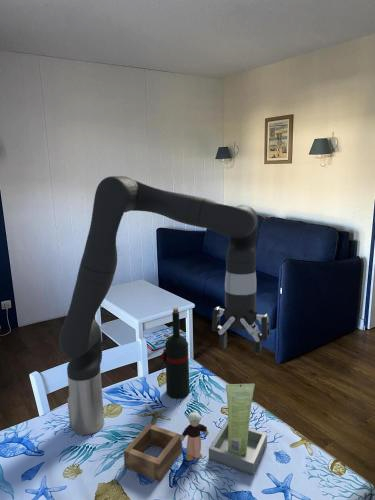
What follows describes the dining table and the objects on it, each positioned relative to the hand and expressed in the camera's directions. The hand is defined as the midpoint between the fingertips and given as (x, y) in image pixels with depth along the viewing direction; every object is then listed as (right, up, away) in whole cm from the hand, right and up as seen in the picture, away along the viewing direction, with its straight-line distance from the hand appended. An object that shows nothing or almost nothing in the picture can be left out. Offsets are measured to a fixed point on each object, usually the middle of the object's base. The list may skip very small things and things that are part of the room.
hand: (239, 350), depth 95 cm
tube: (0, -28, +6) cm, 29 cm away
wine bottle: (-18, -24, +34) cm, 45 cm away
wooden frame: (-22, -30, +4) cm, 37 cm away
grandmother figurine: (-11, -29, +5) cm, 32 cm away
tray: (0, -29, +6) cm, 29 cm away
